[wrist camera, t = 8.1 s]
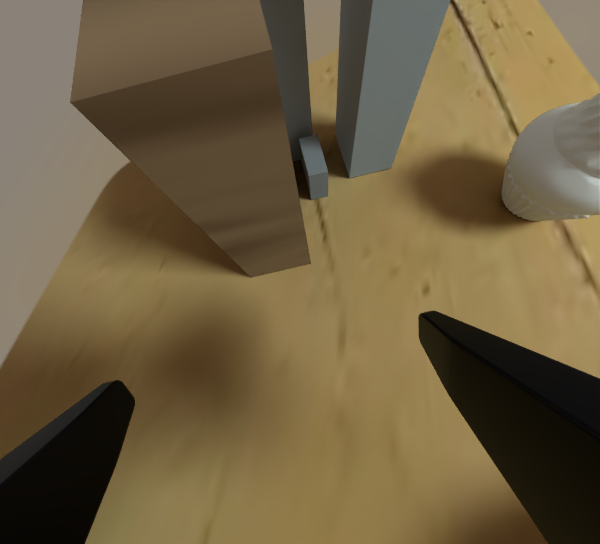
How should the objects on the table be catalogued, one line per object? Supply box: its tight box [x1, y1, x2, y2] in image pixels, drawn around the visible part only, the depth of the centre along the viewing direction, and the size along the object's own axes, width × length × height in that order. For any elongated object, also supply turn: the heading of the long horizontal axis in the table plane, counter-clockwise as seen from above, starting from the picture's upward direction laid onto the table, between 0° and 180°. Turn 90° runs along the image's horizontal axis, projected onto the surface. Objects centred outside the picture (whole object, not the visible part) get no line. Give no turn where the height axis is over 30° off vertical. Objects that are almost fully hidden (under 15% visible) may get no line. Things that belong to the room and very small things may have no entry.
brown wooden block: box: [70, 0, 311, 277], centre depth 12 cm, size 8×4×12 cm, turn 12°
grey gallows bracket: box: [260, 0, 450, 200], centre depth 10 cm, size 6×13×16 cm, turn 102°
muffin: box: [501, 94, 600, 221], centre depth 12 cm, size 6×6×7 cm
